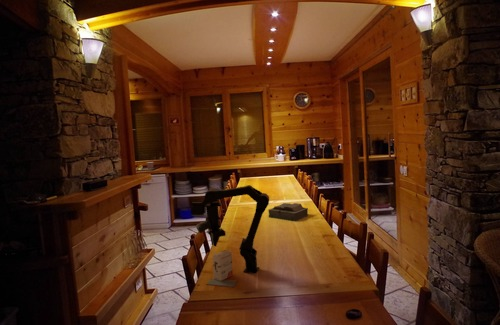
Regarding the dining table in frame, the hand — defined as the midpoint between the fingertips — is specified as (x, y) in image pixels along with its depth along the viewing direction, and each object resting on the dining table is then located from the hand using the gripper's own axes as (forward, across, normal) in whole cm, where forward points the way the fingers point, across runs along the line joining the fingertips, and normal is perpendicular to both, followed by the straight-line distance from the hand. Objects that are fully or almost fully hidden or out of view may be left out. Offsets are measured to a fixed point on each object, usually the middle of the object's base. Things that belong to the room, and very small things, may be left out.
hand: (214, 245), depth 171 cm
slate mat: (+13, +14, -2) cm, 19 cm away
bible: (+14, -70, +79) cm, 106 cm away
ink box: (+13, +9, +1) cm, 16 cm away
